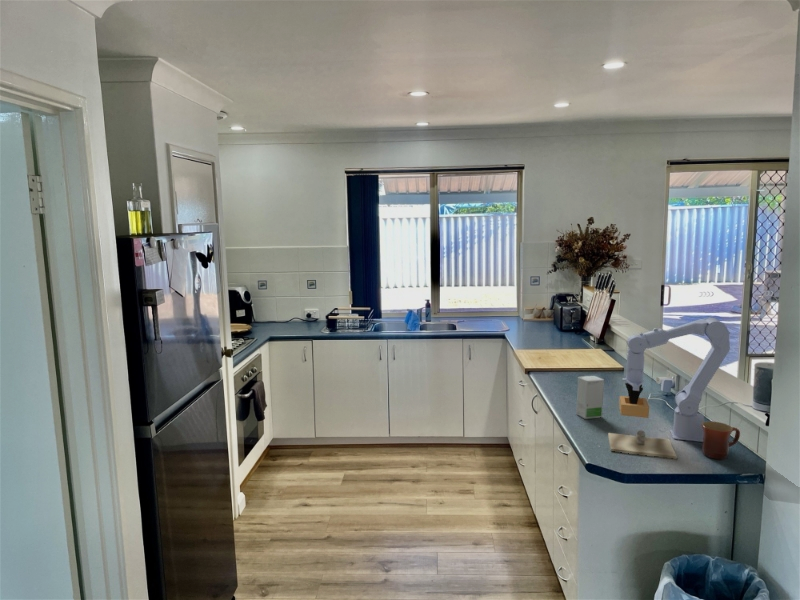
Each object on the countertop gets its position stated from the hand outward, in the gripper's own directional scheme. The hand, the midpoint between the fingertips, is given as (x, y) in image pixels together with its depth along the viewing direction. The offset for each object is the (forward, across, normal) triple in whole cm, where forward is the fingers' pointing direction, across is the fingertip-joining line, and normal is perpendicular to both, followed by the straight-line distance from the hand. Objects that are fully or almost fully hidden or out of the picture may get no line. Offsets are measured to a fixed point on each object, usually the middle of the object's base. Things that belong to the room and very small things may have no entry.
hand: (632, 403), depth 194 cm
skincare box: (+11, -12, -15) cm, 21 cm away
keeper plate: (+10, +14, +2) cm, 18 cm away
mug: (+11, +14, +26) cm, 31 cm away
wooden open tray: (+2, +4, 0) cm, 4 cm away
